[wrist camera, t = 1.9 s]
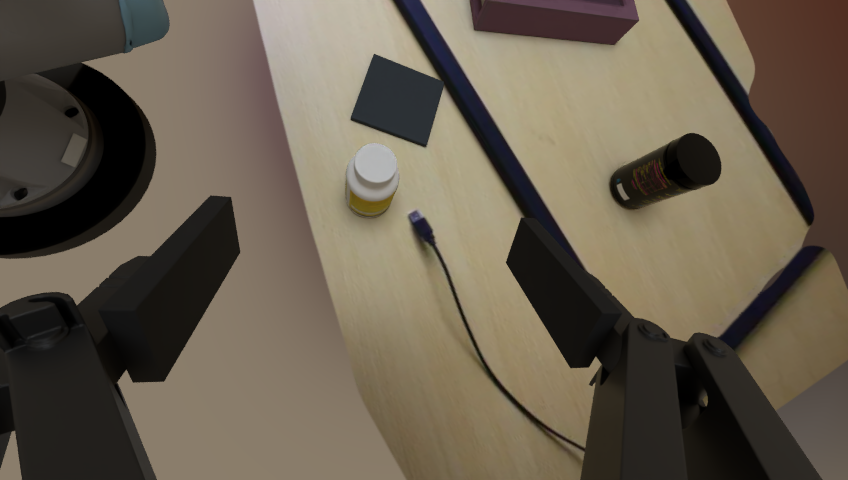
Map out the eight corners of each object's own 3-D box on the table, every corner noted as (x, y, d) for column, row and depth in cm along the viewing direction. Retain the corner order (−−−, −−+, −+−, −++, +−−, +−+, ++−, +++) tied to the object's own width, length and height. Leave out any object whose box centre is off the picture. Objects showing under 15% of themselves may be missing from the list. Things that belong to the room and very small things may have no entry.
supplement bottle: (397, 210, 40) (413, 181, 30) (354, 224, 38) (357, 198, 29) (381, 171, 40) (392, 130, 31) (339, 183, 39) (336, 143, 29)
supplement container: (653, 197, 50) (730, 170, 40) (625, 218, 48) (699, 195, 38) (629, 160, 50) (699, 124, 40) (600, 179, 48) (666, 146, 38)
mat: (350, 120, 41) (350, 117, 40) (373, 56, 43) (374, 53, 43) (425, 147, 42) (426, 145, 42) (443, 84, 45) (444, 82, 44)
